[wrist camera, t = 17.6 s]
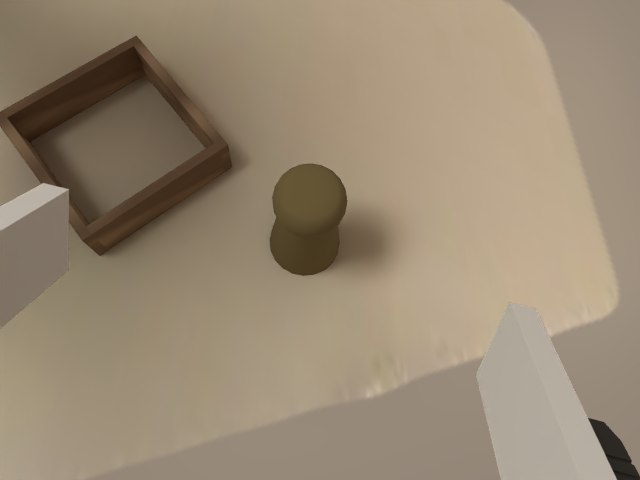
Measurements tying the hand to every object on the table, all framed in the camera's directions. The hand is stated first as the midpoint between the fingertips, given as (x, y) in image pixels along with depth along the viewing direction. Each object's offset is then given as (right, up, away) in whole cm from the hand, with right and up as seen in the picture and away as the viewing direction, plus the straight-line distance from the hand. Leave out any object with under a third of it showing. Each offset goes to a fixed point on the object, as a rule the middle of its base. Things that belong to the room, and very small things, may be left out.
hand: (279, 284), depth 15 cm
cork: (0, +1, +30) cm, 30 cm away
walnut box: (-16, +9, +31) cm, 36 cm away
